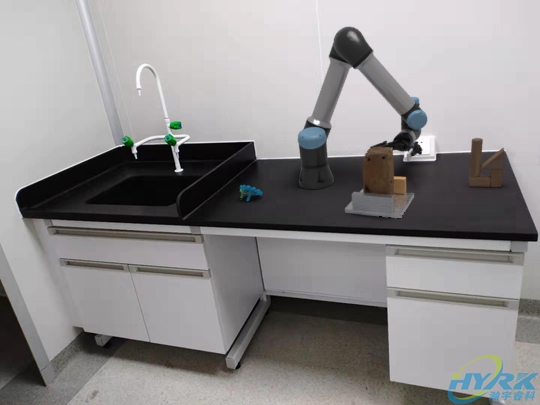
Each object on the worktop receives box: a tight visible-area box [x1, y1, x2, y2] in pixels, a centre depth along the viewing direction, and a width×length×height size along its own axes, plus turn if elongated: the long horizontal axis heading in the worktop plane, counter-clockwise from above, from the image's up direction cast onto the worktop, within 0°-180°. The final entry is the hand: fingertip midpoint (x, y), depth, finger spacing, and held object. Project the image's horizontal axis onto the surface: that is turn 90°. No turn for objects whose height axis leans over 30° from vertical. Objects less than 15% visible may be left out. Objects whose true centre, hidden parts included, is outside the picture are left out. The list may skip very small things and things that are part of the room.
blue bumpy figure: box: [239, 184, 264, 202], centre depth 174 cm, size 11×6×10 cm
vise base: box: [344, 188, 415, 219], centre depth 152 cm, size 20×19×8 cm
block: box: [362, 147, 395, 195], centre depth 148 cm, size 11×8×20 cm
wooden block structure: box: [468, 137, 505, 188], centre depth 152 cm, size 4×11×18 cm, turn 67°
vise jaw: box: [394, 175, 407, 194], centre depth 158 cm, size 14×2×6 cm, turn 59°
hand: (389, 156), depth 158 cm, fingers open, 13 cm apart
